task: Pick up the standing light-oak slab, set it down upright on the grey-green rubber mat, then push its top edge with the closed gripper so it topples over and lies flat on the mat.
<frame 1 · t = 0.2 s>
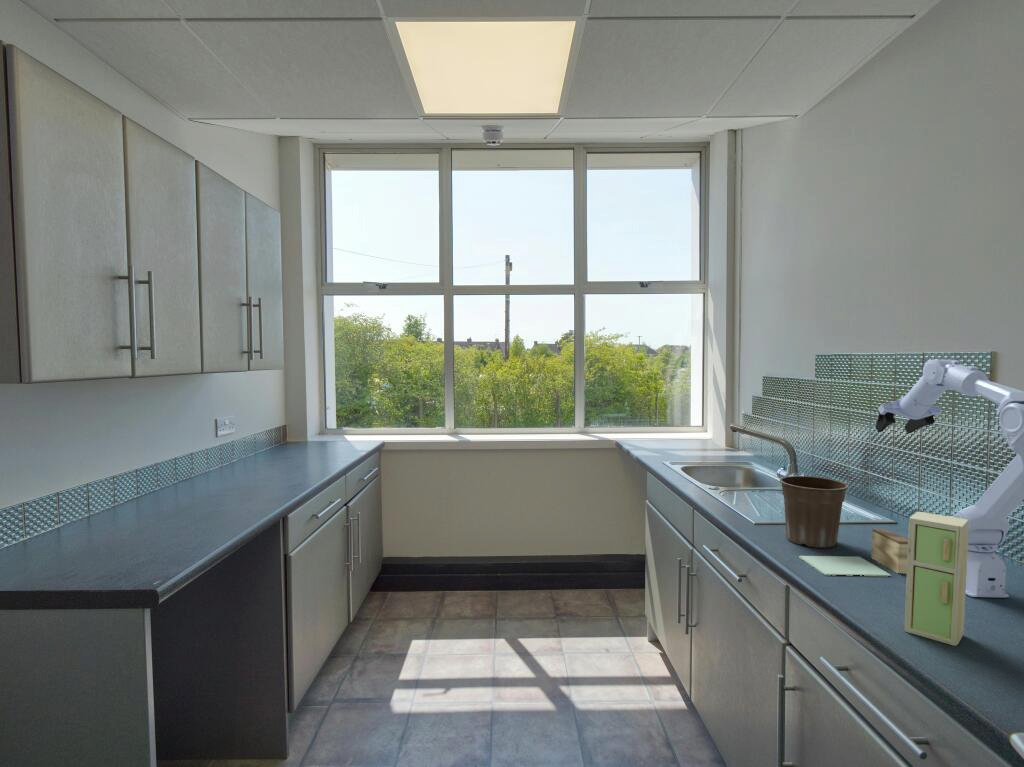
hand: (892, 429, 156), 31 cm above the worktop, tool tilted 45°, fingers open, 7 cm apart
plant pot: (810, 542, 161), on the worktop
toy refrigerator: (932, 635, 108), on the worktop
oak slab: (890, 566, 143), on the worktop
rubber mat: (842, 566, 142), on the worktop
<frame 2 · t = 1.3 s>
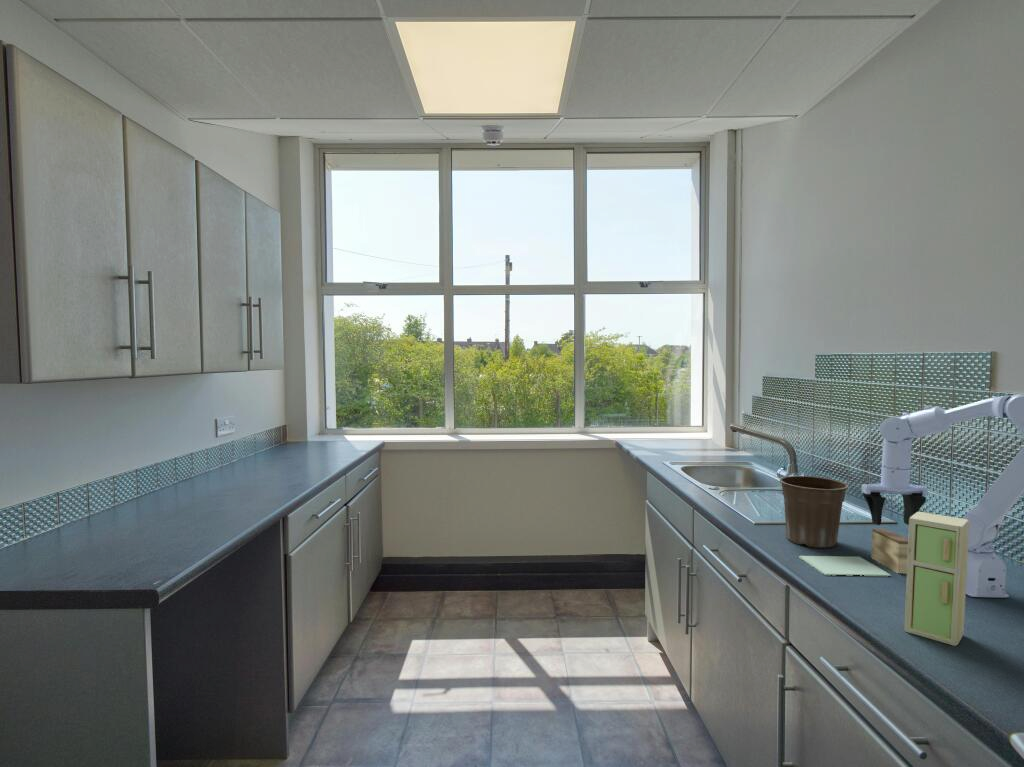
hand: (892, 524, 143), 10 cm above the worktop, tool pointing down, fingers open, 7 cm apart
nothing on the worktop moved.
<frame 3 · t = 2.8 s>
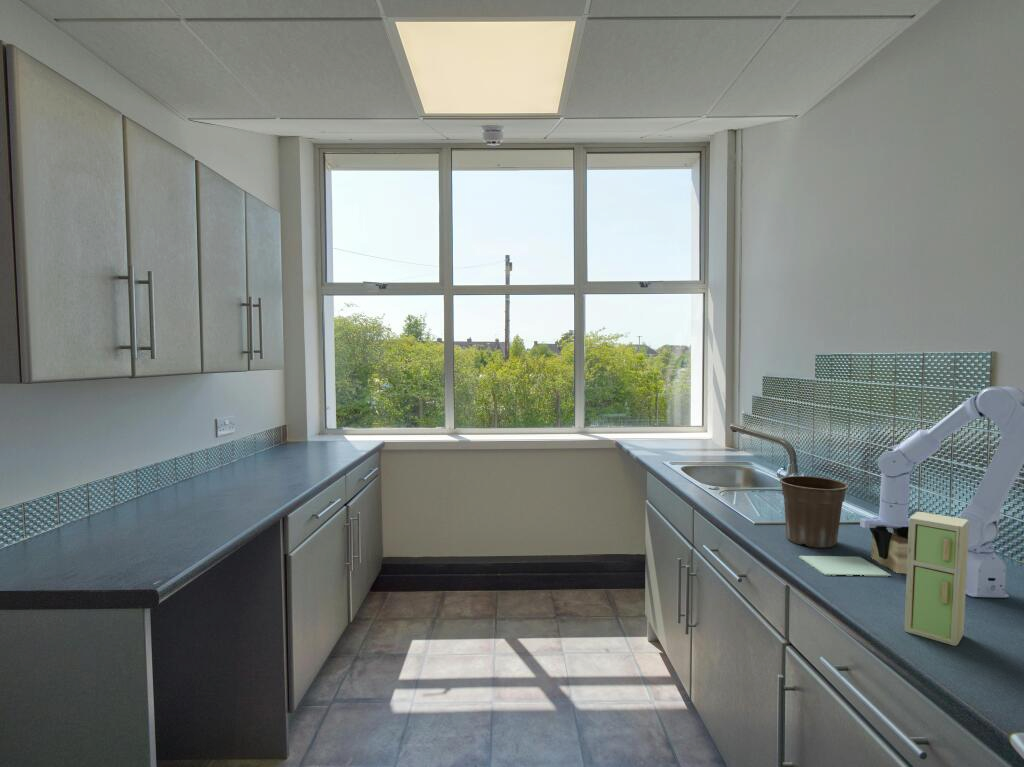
hand: (890, 557, 143), 2 cm above the worktop, tool pointing down, fingers closed on oak slab, 3 cm apart
oak slab: (890, 566, 143), on the worktop, touching gripper
everything else where it was.
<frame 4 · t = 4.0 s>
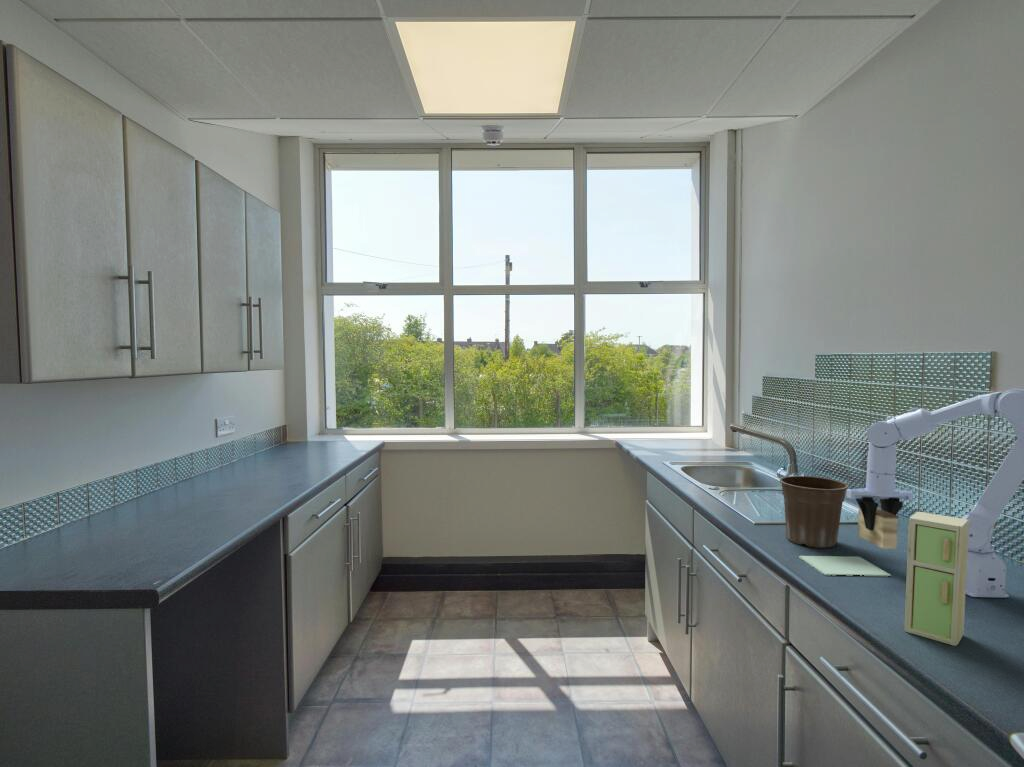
hand: (877, 529, 142), 9 cm above the worktop, tool pointing down, fingers closed on oak slab, 3 cm apart
oak slab: (876, 542, 142), point 6 cm above the worktop, touching gripper
everything else where it was.
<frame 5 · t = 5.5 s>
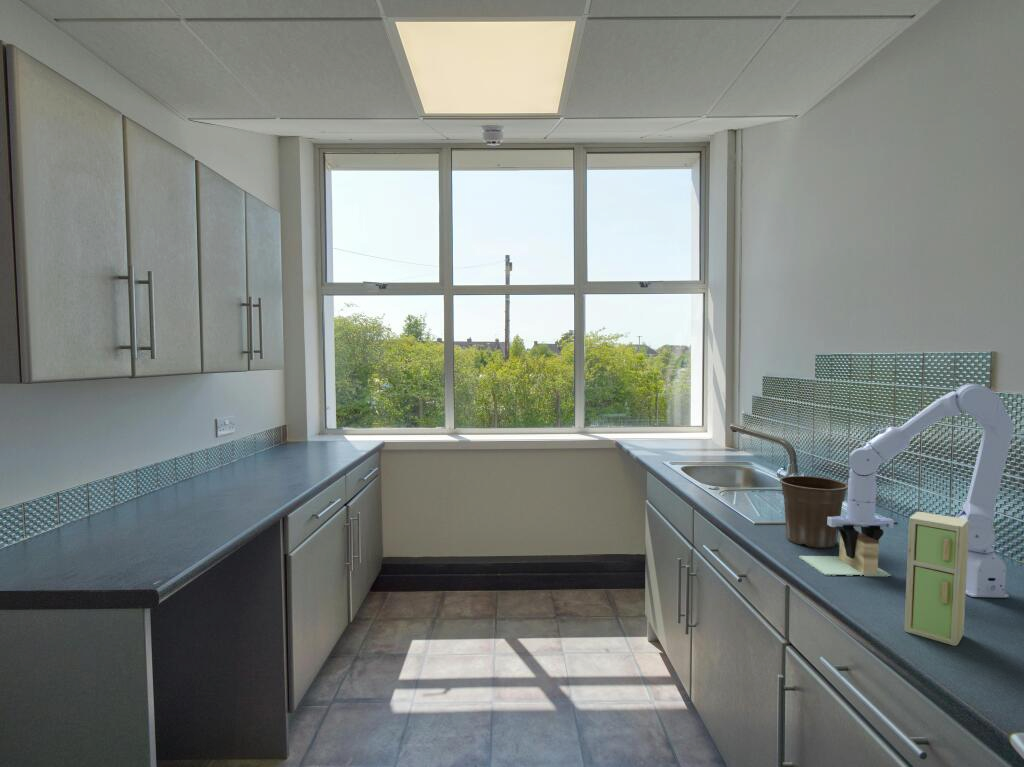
hand: (858, 557, 141), 3 cm above the worktop, tool pointing down, fingers closed on oak slab, 3 cm apart
oak slab: (857, 566, 141), resting on rubber mat, touching gripper
everything else where it was.
when the fingers open (3 cm above the worktop, at t = 5.8 s): oak slab stays where it is, resting on rubber mat.
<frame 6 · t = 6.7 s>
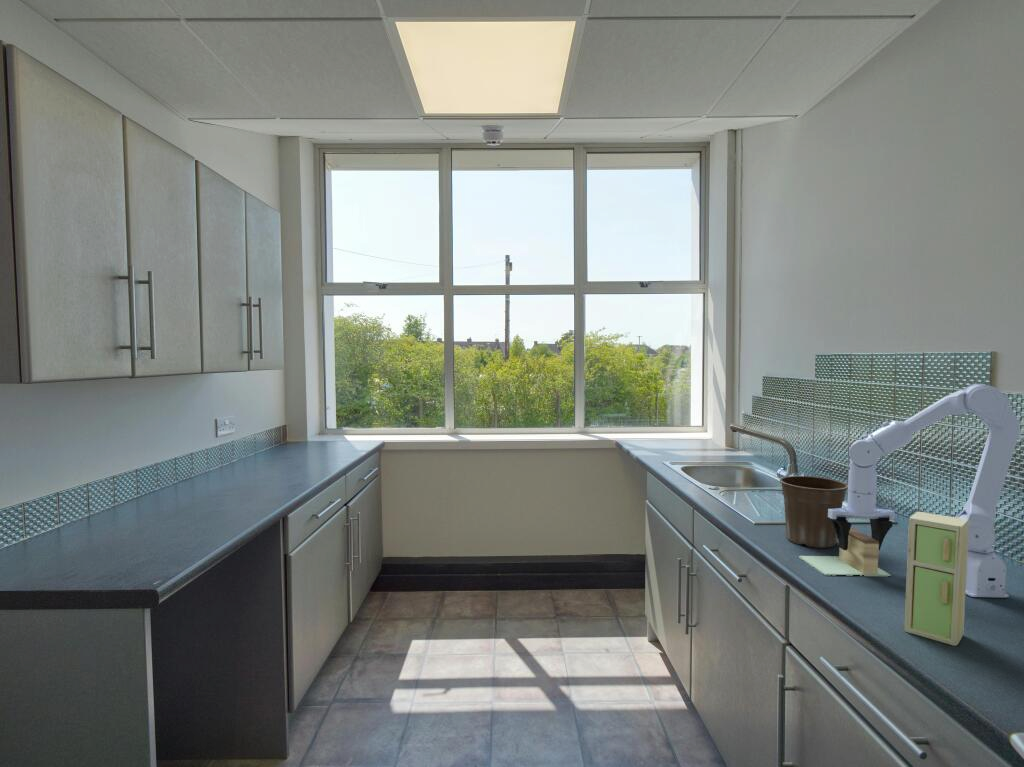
hand: (859, 549, 141), 5 cm above the worktop, tool pointing down, fingers open, 7 cm apart
oak slab: (857, 566, 141), resting on rubber mat
everything else where it was.
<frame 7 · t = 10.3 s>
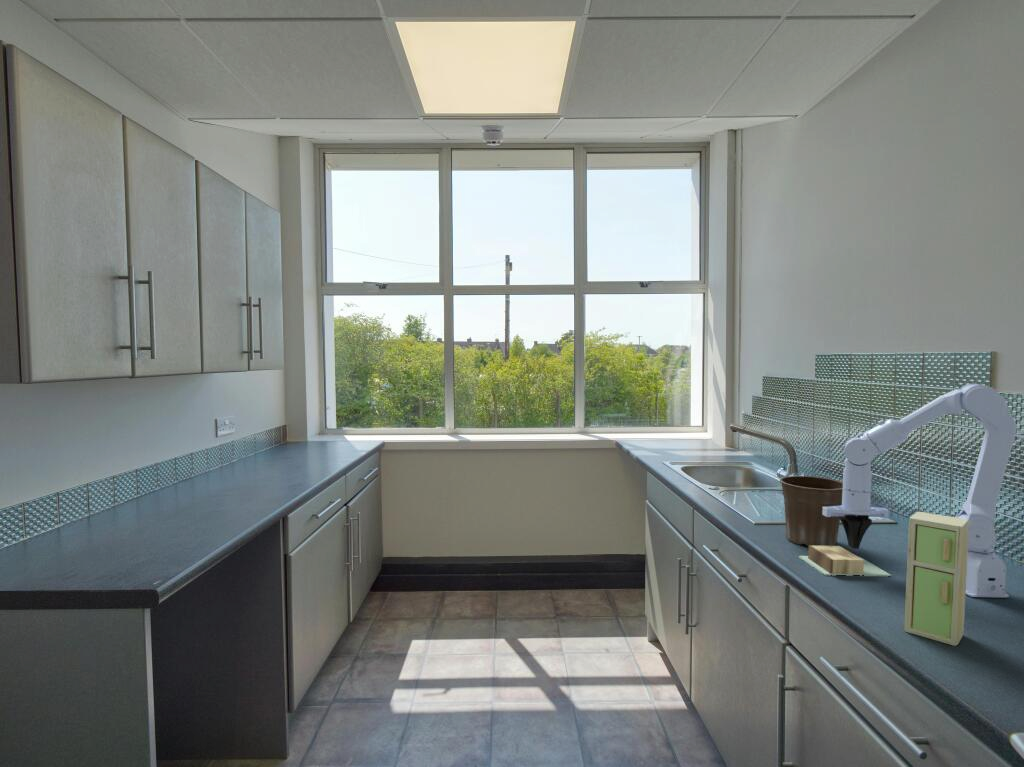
hand: (853, 547, 141), 5 cm above the worktop, tool pointing down, fingers closed
oak slab: (850, 559, 141), point 2 cm above the worktop, tilted 90°, touching rubber mat
everything else where it was.
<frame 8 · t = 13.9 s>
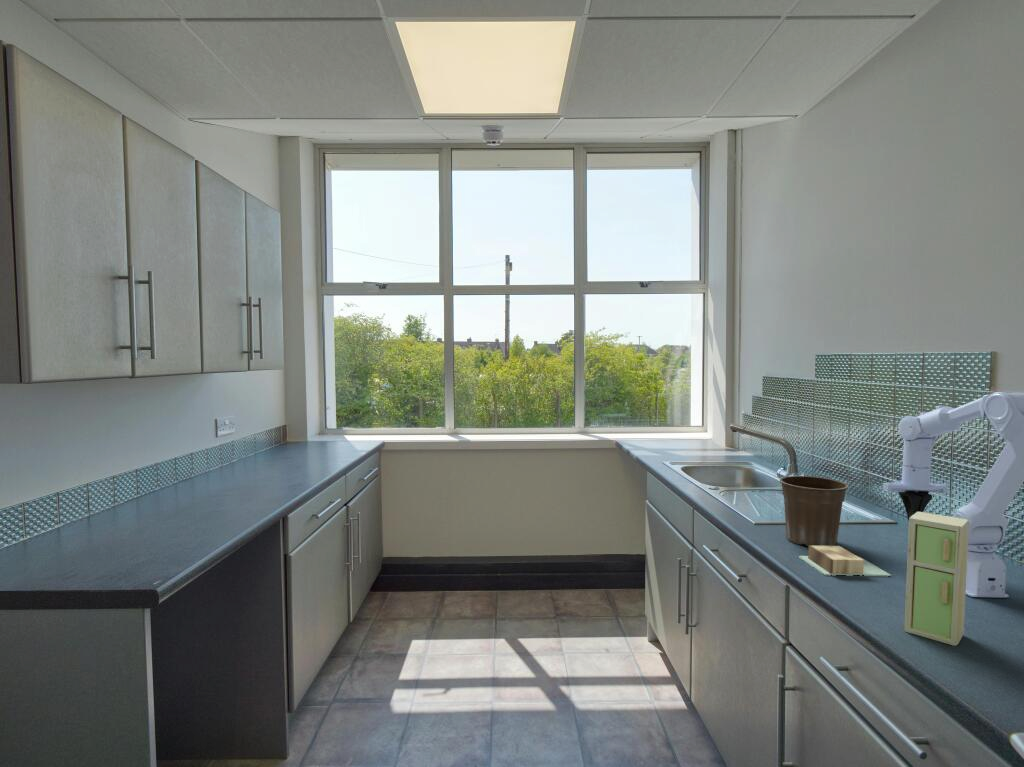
hand: (913, 521, 146), 10 cm above the worktop, tool pointing down, fingers closed
nothing on the worktop moved.
at the end: oak slab tilted 90°; oak slab inside the target area (3.3 cm from its centre), point 2.0 cm above the worktop; the gripper is holding nothing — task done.
